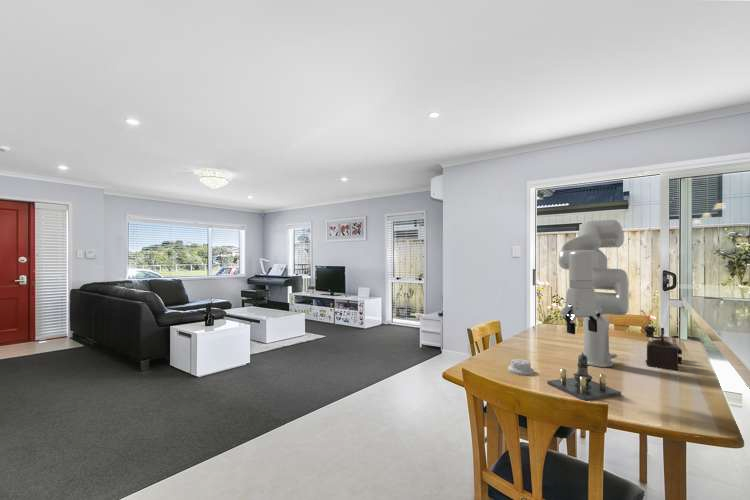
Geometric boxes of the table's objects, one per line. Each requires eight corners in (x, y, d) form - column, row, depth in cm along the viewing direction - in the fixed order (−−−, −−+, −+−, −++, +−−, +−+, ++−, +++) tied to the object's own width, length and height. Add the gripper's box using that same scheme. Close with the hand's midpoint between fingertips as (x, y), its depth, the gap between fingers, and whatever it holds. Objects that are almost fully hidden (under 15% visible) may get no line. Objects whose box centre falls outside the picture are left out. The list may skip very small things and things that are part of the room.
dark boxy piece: (646, 360, 161) (645, 321, 161) (678, 365, 154) (677, 324, 154) (643, 368, 150) (642, 326, 150) (677, 374, 142) (676, 329, 143)
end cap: (658, 356, 167) (658, 342, 168) (678, 359, 164) (677, 344, 164) (661, 362, 159) (661, 347, 159) (682, 364, 155) (681, 349, 155)
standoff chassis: (581, 379, 136) (581, 363, 136) (620, 395, 121) (620, 377, 121) (547, 384, 132) (547, 367, 132) (583, 400, 116) (583, 381, 116)
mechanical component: (510, 375, 143) (536, 376, 141) (509, 364, 143) (536, 365, 141) (506, 367, 152) (530, 368, 150) (506, 357, 152) (530, 358, 150)
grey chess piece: (590, 384, 128) (589, 350, 128) (594, 389, 123) (594, 355, 123) (571, 382, 130) (571, 349, 130) (575, 387, 124) (575, 353, 125)
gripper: (591, 283, 133) (591, 328, 133) (553, 285, 128) (554, 332, 128) (609, 284, 126) (610, 332, 126) (570, 286, 121) (571, 336, 121)
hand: (582, 332), depth 127 cm, fingers open, 9 cm apart
